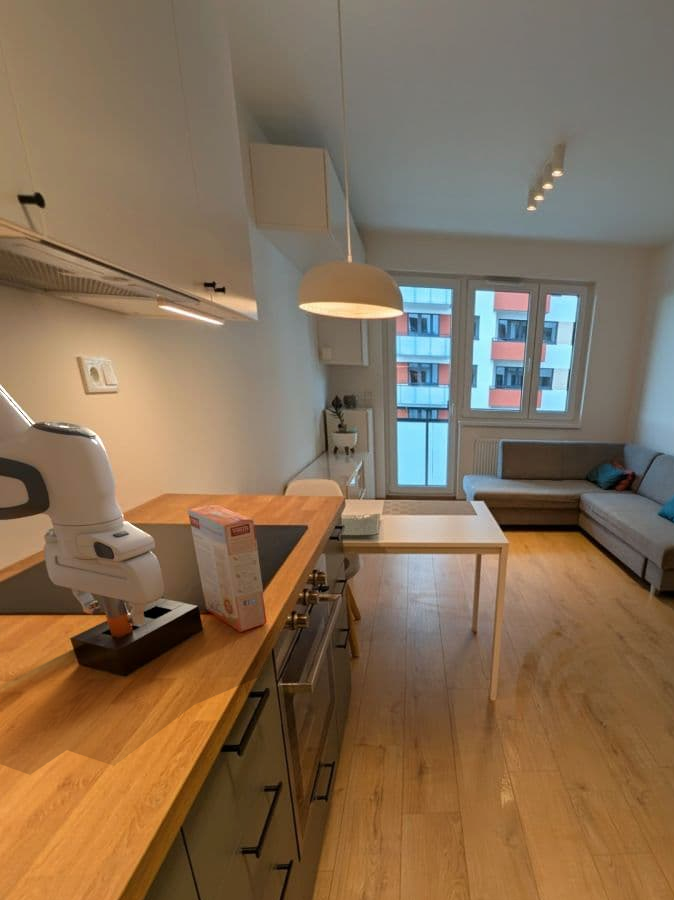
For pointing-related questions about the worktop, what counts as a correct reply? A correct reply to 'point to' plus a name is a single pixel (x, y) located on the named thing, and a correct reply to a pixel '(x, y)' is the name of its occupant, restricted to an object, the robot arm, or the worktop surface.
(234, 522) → the cracker box
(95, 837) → the worktop surface
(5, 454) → the robot arm
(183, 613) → the holder
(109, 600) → the orange banded battery
